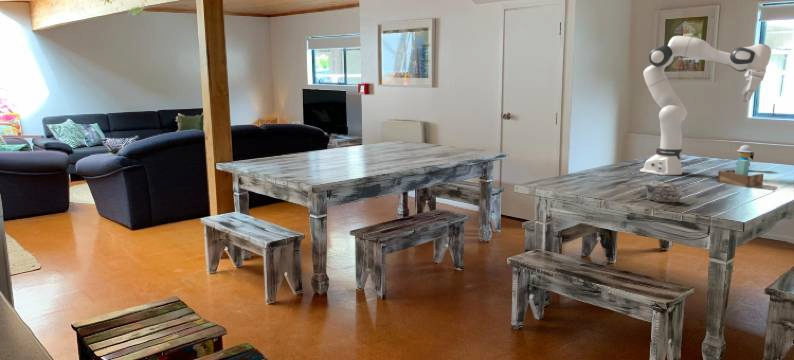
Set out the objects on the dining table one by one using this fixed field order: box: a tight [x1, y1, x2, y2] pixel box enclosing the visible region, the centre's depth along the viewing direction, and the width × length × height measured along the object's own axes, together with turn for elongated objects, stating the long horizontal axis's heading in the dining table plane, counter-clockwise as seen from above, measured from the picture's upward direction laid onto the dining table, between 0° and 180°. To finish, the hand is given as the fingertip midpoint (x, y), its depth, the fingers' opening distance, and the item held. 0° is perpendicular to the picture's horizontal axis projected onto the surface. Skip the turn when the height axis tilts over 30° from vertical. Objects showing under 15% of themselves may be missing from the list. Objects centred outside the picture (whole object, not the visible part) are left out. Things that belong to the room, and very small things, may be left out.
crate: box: [717, 168, 764, 188], centre depth 321 cm, size 12×16×6 cm
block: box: [735, 159, 750, 176], centre depth 321 cm, size 4×4×12 cm
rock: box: [644, 181, 682, 204], centre depth 284 cm, size 16×8×10 cm, turn 49°
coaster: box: [755, 184, 778, 193], centre depth 311 cm, size 8×9×1 cm
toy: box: [735, 144, 755, 167], centre depth 364 cm, size 8×9×15 cm
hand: (745, 101), depth 324 cm, fingers open, 8 cm apart
